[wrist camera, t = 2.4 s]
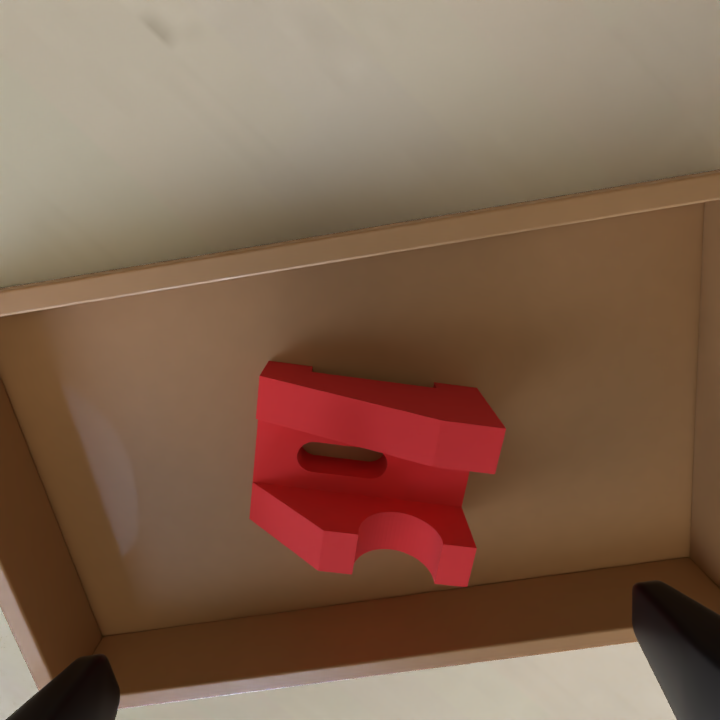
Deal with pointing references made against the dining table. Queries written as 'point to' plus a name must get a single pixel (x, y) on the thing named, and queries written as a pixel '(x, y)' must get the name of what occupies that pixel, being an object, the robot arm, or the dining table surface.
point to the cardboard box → (375, 362)
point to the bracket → (370, 468)
